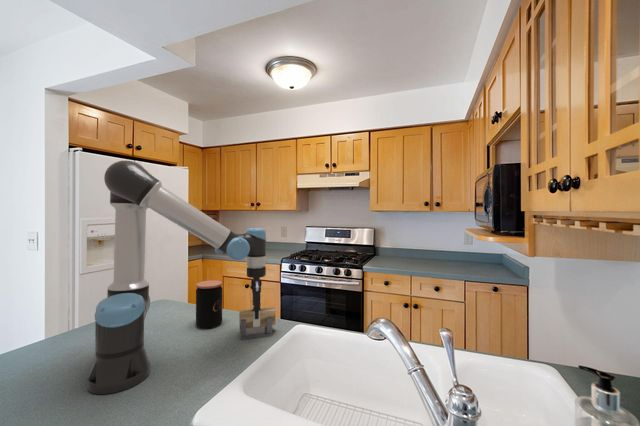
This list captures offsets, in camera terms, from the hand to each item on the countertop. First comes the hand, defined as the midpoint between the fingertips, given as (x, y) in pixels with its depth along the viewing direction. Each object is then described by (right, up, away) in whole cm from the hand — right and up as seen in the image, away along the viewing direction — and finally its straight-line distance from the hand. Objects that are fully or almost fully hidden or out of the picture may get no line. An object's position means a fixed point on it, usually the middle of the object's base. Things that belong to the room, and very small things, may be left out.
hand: (256, 324), depth 114 cm
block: (+1, -1, 0) cm, 1 cm away
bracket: (0, -4, 0) cm, 4 cm away
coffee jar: (-22, -4, +8) cm, 24 cm away
